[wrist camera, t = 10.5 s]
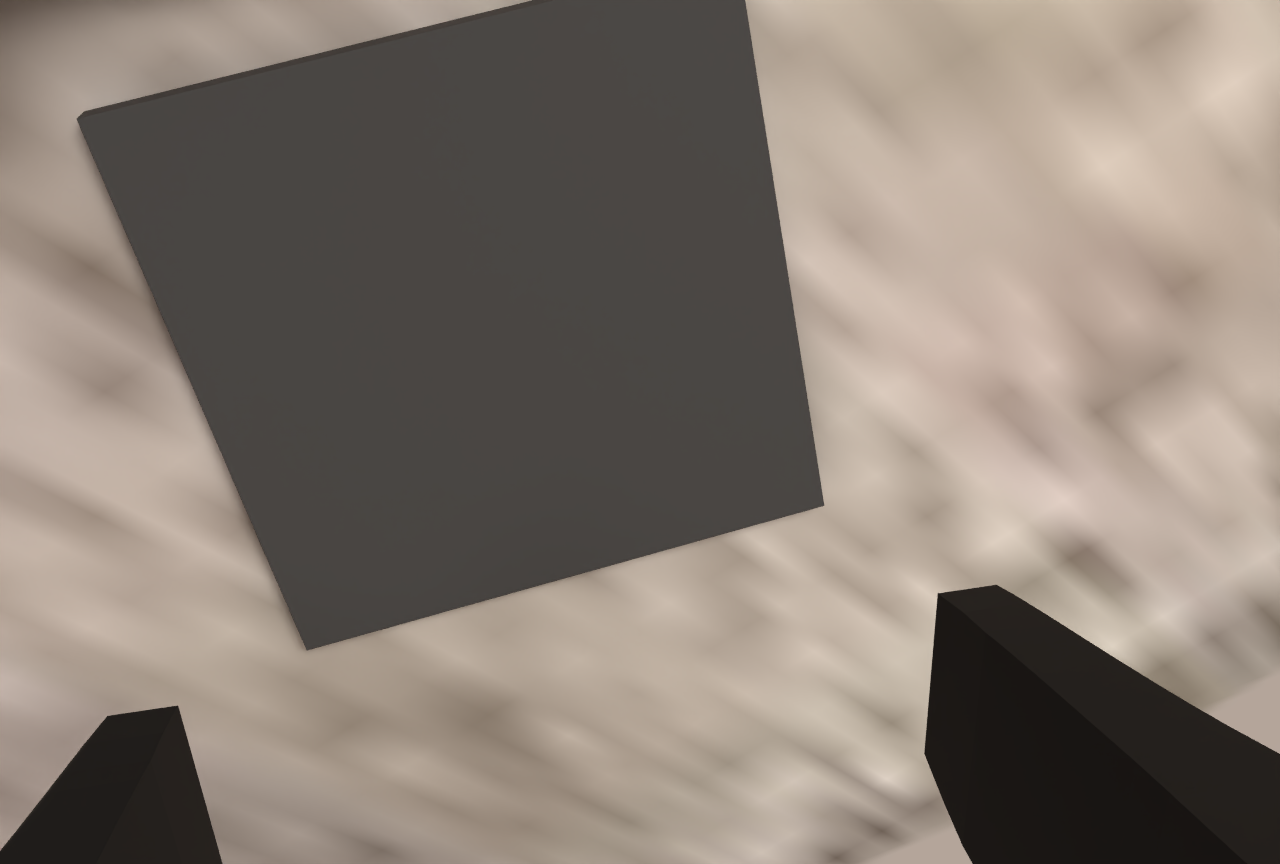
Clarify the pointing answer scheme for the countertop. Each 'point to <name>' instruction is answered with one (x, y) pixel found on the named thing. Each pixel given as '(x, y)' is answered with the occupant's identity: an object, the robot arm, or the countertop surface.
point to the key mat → (478, 299)
